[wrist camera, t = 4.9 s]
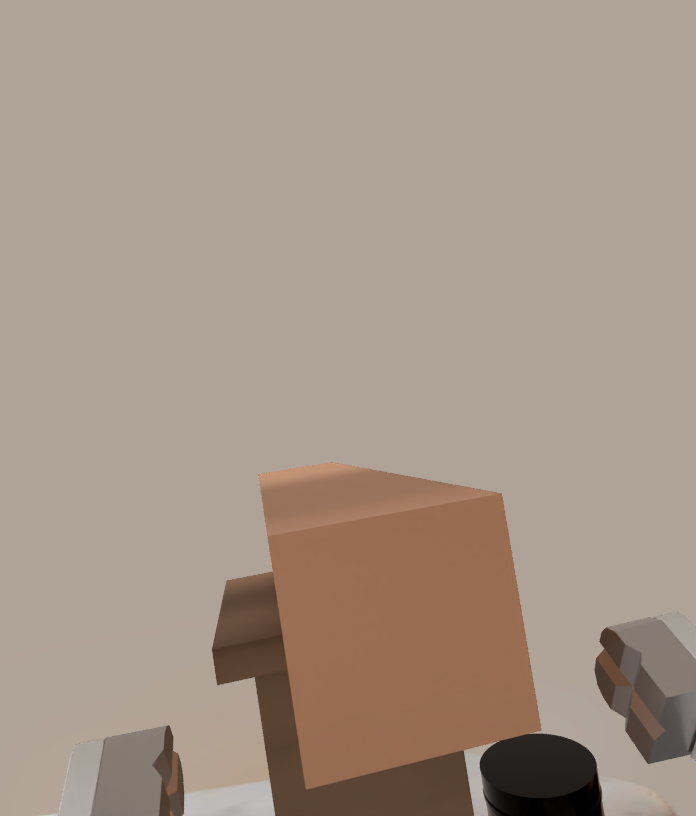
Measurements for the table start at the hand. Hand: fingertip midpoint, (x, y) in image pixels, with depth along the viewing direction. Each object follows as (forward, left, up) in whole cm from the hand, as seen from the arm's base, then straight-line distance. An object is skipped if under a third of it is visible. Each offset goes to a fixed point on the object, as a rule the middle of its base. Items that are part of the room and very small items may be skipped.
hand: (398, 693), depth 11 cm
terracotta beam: (-7, +8, -1) cm, 10 cm away
